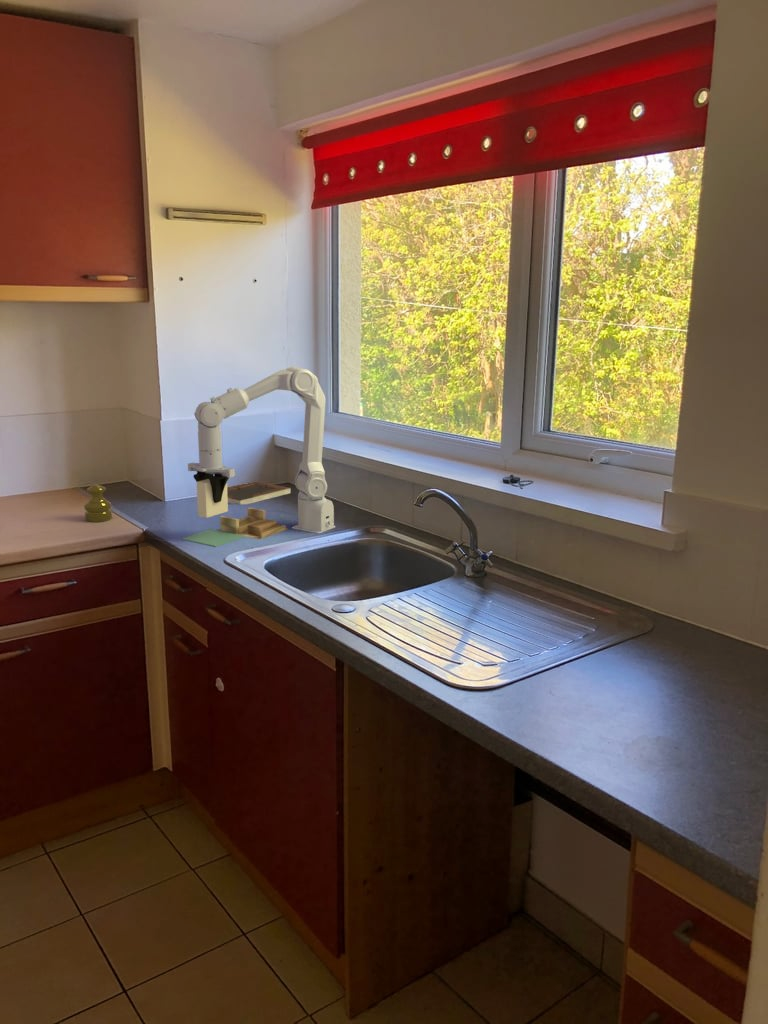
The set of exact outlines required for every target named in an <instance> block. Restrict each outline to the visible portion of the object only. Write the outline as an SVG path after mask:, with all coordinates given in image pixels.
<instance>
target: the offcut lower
mask: <svg viewBox="0 0 768 1024" xmlns="http://www.w3.org/2000/svg"><path fill="white" fill-rule="evenodd" d="M277 525H278V526H275V527H273V528H270V529H267V530H264V531H261V532H257V531H252V530H248V534H251V535H256V536H260V533H263V532H265V531H268V530H271V529H274V528H277V527H279V526H281V525H280V524H277Z"/></svg>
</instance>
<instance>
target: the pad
mask: <svg viewBox="0 0 768 1024" xmlns="http://www.w3.org/2000/svg"><path fill="white" fill-rule="evenodd" d="M245 537H246V536H243V535H239V534H234V533H229V532H224V531H221V530H218V529H215V528H209V529H206V530H203V531H200V532H197V533H195V534H192V535H189V536H185V537H181V540H183V541H187V542H192V543H197V544H201V545H206V546H210V547H215V548H217V547H219V546H223V545H226V544H228V543H231V542H233V541H237V540H240V539H243V538H245Z"/></svg>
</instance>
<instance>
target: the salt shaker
mask: <svg viewBox="0 0 768 1024" xmlns="http://www.w3.org/2000/svg"><path fill="white" fill-rule="evenodd" d="M106 488H107V487H105V486H103V485H100V484H97V483H96V484H93V485H92V486H90V487H88V488H86V491H87V492H88V493H90V494H91V497H90V499H89V500H88V501H87V502H85V503H84V504H83V509H84V510H85V511H84V519H85V521H87V522H91V523H102V522H107V521H110V520H111V519H113V510H112V509H111V508H112V503H111V502H110V501H109V500H107V499H106V498H104V496H103V493H104V492H105V491H106Z"/></svg>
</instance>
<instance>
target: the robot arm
mask: <svg viewBox="0 0 768 1024" xmlns="http://www.w3.org/2000/svg"><path fill="white" fill-rule="evenodd" d="M277 390H278V391H279V390H281V391H288V392H293V393H294V394H296V395H297V396H298V397H299V398H300V399H301V400H302V401H303V402H304V404H305V410H304V428H303V442H302V443H303V444H302V445H303V446H302V459H301V460H302V461H301V462H300V463H299V465H298V472H297V474H296V476H295V478H294V485H295V487H296V489H297V490H298V494H297V512H298V513H297V516H298V519H297V520H298V522H297V524H296V525H294V526H292V527H291V529H295V530H297V531H298V530H299V531H304V532H309V533H313V534H321V533H324V532H327V531H330V530H332V529H335V528H336V525H335V511H334V510H335V509H334V507H335V506H334V504H333V501H332V500H330V499H327V498H326V497H325V494H326V493H327V491H328V483H327V481H326V477H325V475H326V474H325V473H326V472H325V469H324V466H323V448H324V447H323V445H324V433H325V432H324V429H325V416H326V413H325V412H326V401H327V400H326V395H325V394H324V391H323V390H322V388H321V385H320V382H319V378H318V377H317V376H316V375H315V374H314V373H312V372H311V371H310V370H309V369H306V368H300V367H298V366H294V365H291V366H289V367H287V368H285V369H280V370H277V372H274V373H273V374H271V375H269V376H267V377H265V378H263V379H261V380H260V381H257V382H256V383H254V384H252V385H249V386H248V387H246V388H244V389H240V388H237V387H235V388H232V387H230V388H228V389H226V391H227V392H225V393H223V394H221V395H218V396H216V397H215V396H213V397H211V398H210V399H209V400H210V401H203V402H201V403H199V404H198V405H197V407H196V408H195V411H194V413H193V414H194V418H195V419H196V421H197V429H198V431H197V438H198V439H197V441H198V442H197V443H198V459H199V460H198V461H199V462H190V463H187V471H188V472H196V473H195V474H193V479H194V480H195V483H197V482H198V481H202V480H206V479H209V481H210V483H211V487H212V493H213V501H214V503H217V502H221V499H222V494H223V490H224V487H225V485H226V483H227V484H228V481H229V479H230V478H232V477H235V476H236V472H235V470H236V469H235V468H231V467H228V466H225V465H223V453H222V432H221V423H222V421H223V419H227V418H230V417H231V416H234V415H235V414H238V413H239V412H242V411H243V410H246V409H247V408H248V405H249V403H250V402H251V401H253V400H255V399H258V398H261V397H263V396H265V395H268V394H269V393H271V392H272V393H273V392H274V391H277Z"/></svg>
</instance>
